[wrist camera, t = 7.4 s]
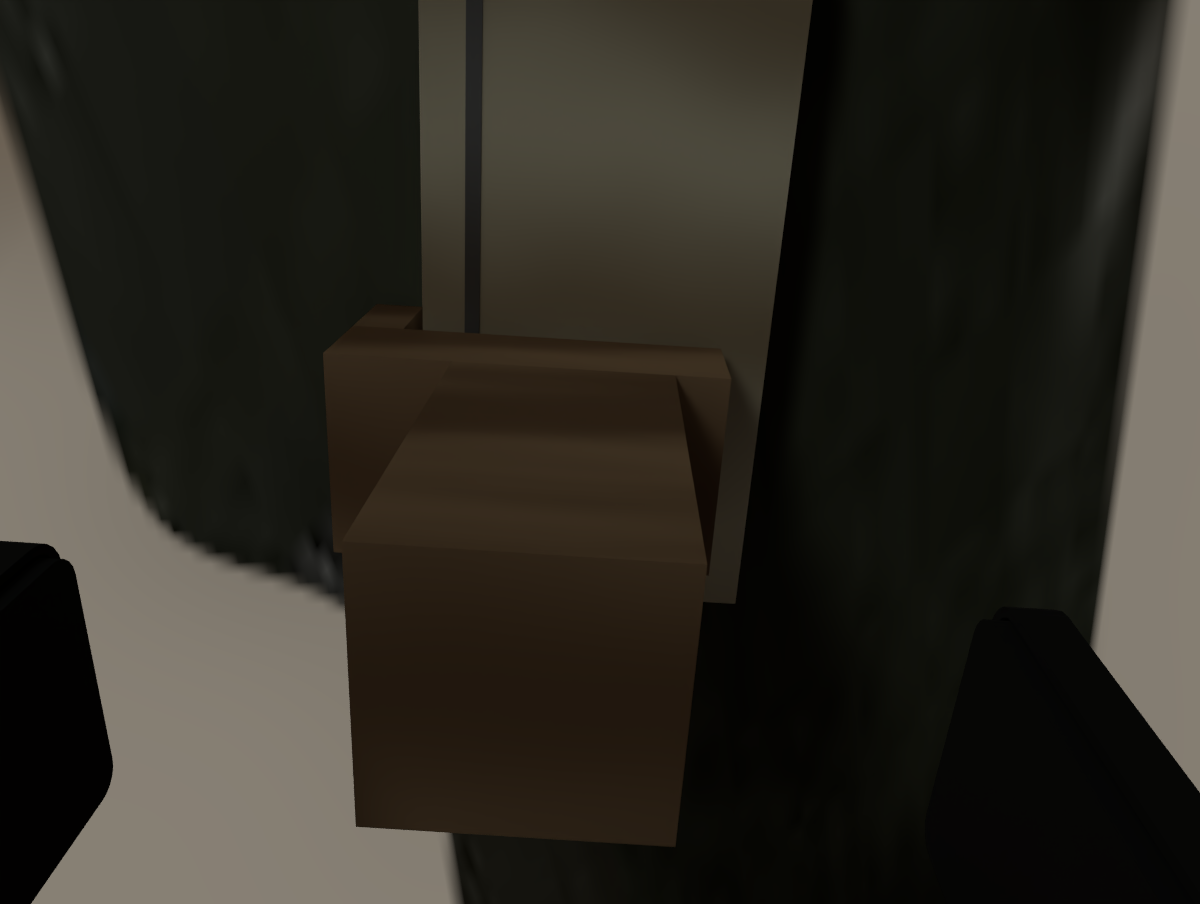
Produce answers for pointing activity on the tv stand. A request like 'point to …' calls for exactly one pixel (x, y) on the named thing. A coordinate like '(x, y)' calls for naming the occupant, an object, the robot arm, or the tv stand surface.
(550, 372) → the brown slider knob
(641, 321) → the board
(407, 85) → the tv stand surface
